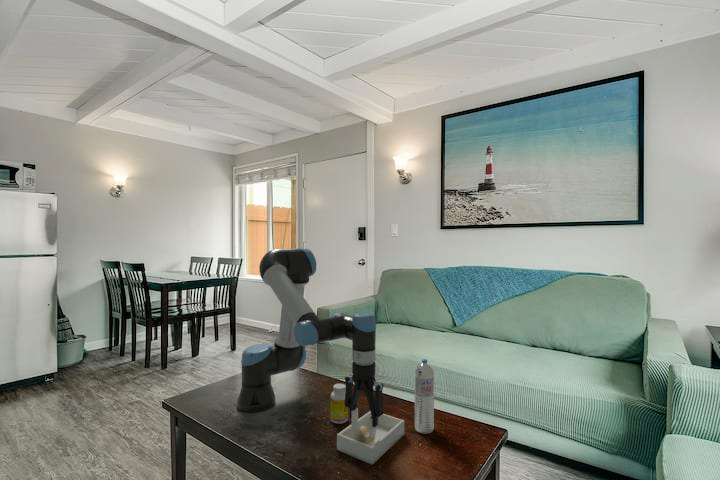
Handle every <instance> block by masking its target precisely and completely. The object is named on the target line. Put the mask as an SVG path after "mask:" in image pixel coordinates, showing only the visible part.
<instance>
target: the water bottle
mask: <svg viewBox="0 0 720 480" xmlns="http://www.w3.org/2000/svg"><path fill="white" fill-rule="evenodd" d="M414 376H415V377H414V429H415V431H416V432H418V433H420V434H423V435H428V434H431V433H433V431H434V429H435V428H434V427H435V393H434V391H435V390H434V388H435V385H434V383H435V381H434V380H435V379H434V378H435V371H434V369H433V368H432V367H431V365H430V364H428V359H426V358H423V359H421V364H419V365H418V366H417V367H416V368H415V370H414Z"/></svg>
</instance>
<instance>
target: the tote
mask: <svg viewBox="0 0 720 480" xmlns="http://www.w3.org/2000/svg"><path fill="white" fill-rule="evenodd" d="M370 416H371V411H370V410H369V411H367V413H365V414H364V415H362V416H361V417H358V428H360V427H361V426H362V425H364V426H366V427H368V428H369V417H370ZM358 428H357V429H358ZM357 429H356V430H357ZM356 430H355V431H356ZM404 436H405V420H404V419H401V418H397V417H395V416H392V415H388V414H385V413H384V414H383V415H381V416H380V417H378V425H377V426H376V435H375V444H374V445H372V446H370V445H367V444H365V443H362V442H359V441H357V440H354V431H351V424H349V425H348V426H347V427H345V428H344V429H343V430H341V431H340V432H338V433H337V434H336V450H337V451H339V452H341V453H343V454H346V455H348V456H350V457H352V458H353V457H354V459H355V458H356V459H358V460H360V461H362V462H365V463H367V464H370V465H371V466H373V464H375V463H376V462H377V461H378V460H379V459H380V458H381V457H382V456H383V455H384V454H385V453H387V451H389V450H390V449H391V448H392V447H393V446H394V445H395V444H396V443H397V442H398V441H399V440H401V438H402V437H404Z"/></svg>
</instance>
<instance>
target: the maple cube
mask: <svg viewBox="0 0 720 480" xmlns="http://www.w3.org/2000/svg"><path fill="white" fill-rule="evenodd" d="M354 440H357V441H359V442H362V443H365V444H367V445H370V446H372V445H374V444H375V436H373V437H372V438H370V437H369V428H368V427H366V426H364V425H362V426H361V427H360V428H358V429H357V430H356V431H354Z"/></svg>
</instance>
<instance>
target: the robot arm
mask: <svg viewBox="0 0 720 480" xmlns="http://www.w3.org/2000/svg"><path fill="white" fill-rule="evenodd" d="M258 268H259V275H260V277H261V279H262V281H263V282H264V284H265V285H267V286H269V287H270V288H271V290H272V291H273V293H274V294H275V296H276V298H277V299H278V300H279V302H280V304H281V309H280V311H281V312H280V320H279V321H280V323H279V330H278V336H276V337H275V339H274V343H273V345H271V344H269V343H264V342H263V343H256V344H253V345H250V346H248V347H245V349H243V351H242V353H241V361H240V363H241V388H240V391H239V395H238V397H237V401H236V407H237V409H238V410H240V411H242V412H244V413H258V412H262V411H266V410H269V409H271V408H272V407H274V406H275V404H276V395H275V391H274V388H273V386H272V376H274V375H279V374H282V373H286V372H291V371H294V370H297V369H300V368H301V367H303V365H304V364H305V361H306V358H307V357H306V356H307V351H306V346H314V345H315V344H322V343H325V342H330V341H334V340H340V339H348V340H350V341H352V343H351V344H352V347H351V348H352V349H351V350H352V357H351V360H352V363H351V364H352V366H351V369H352V370H351V372H352V374H348V375H347V376H345V378H344V382H345V386H346V390H345V406H346V407H348V410H349V419H350V420H351V423H350V425H351V431H355V430H356V429H357V428H358V419H359V408H357V406H358V401H359V399H360V395H361V392H364V396H366V398H367V403H368V407H369V411H371V416H370V417H369V437H370V438H372V437H373V436H375V435H376V426H377V425H378V417H380V416H381V415H383V414H385V411H384V395H383V390H384V384H383V383H382V382H381V383H379V382H378V381H377V379H376V376H375V375H376V357H377V355H376V343H377V341H376V338H377V337H376V333H377V331H376V330H377V324H376V316H375V315H374V314H373V313H371V312H363V311H362V312H356V313H354V314H353V315H349V314H347V313H346V314H345V313H340V312H336V313H334V314H332V315H331V316H329V317H324V318H320V317H318V315H317V314H316V313H315V311H314V310H313V309H312V307H311V306H310V304H309V303H308V301H307V300H306V299H305V297H304V296H305V289H306V288H305V287H306V285H307V284H309V282H310V277H312V276H313V275H315V273H316V272H317V261H316V257H315V255H314V253H313V252H312V251H311V250H310V249H308V248H301V247H297V248H296V247H295V248H274V249H271V250H269V251H268V252H266V253H265V254H264V255H263V257H262V258H261V260H260V262H259V267H258Z"/></svg>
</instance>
